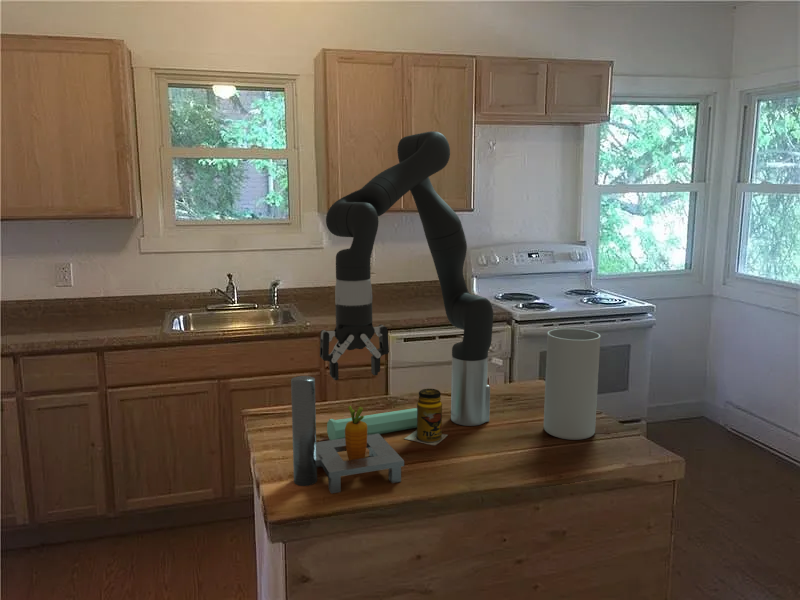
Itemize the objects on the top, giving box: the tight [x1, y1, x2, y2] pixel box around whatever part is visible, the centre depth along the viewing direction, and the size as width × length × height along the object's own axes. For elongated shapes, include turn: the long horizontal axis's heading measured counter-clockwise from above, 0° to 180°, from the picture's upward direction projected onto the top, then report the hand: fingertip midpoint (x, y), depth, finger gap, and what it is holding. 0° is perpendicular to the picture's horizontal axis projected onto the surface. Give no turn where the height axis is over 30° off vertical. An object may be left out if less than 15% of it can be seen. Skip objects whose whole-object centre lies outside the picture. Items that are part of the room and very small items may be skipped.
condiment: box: [403, 388, 449, 446], centre depth 161 cm, size 7×8×12 cm
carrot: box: [345, 405, 367, 460], centre depth 141 cm, size 5×5×15 cm
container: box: [326, 407, 417, 441], centre depth 165 cm, size 6×6×25 cm
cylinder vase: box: [543, 328, 601, 441], centre depth 164 cm, size 12×12×25 cm
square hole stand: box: [290, 375, 405, 495], centre depth 139 cm, size 21×16×22 cm
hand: (355, 376), depth 138 cm, fingers open, 8 cm apart
